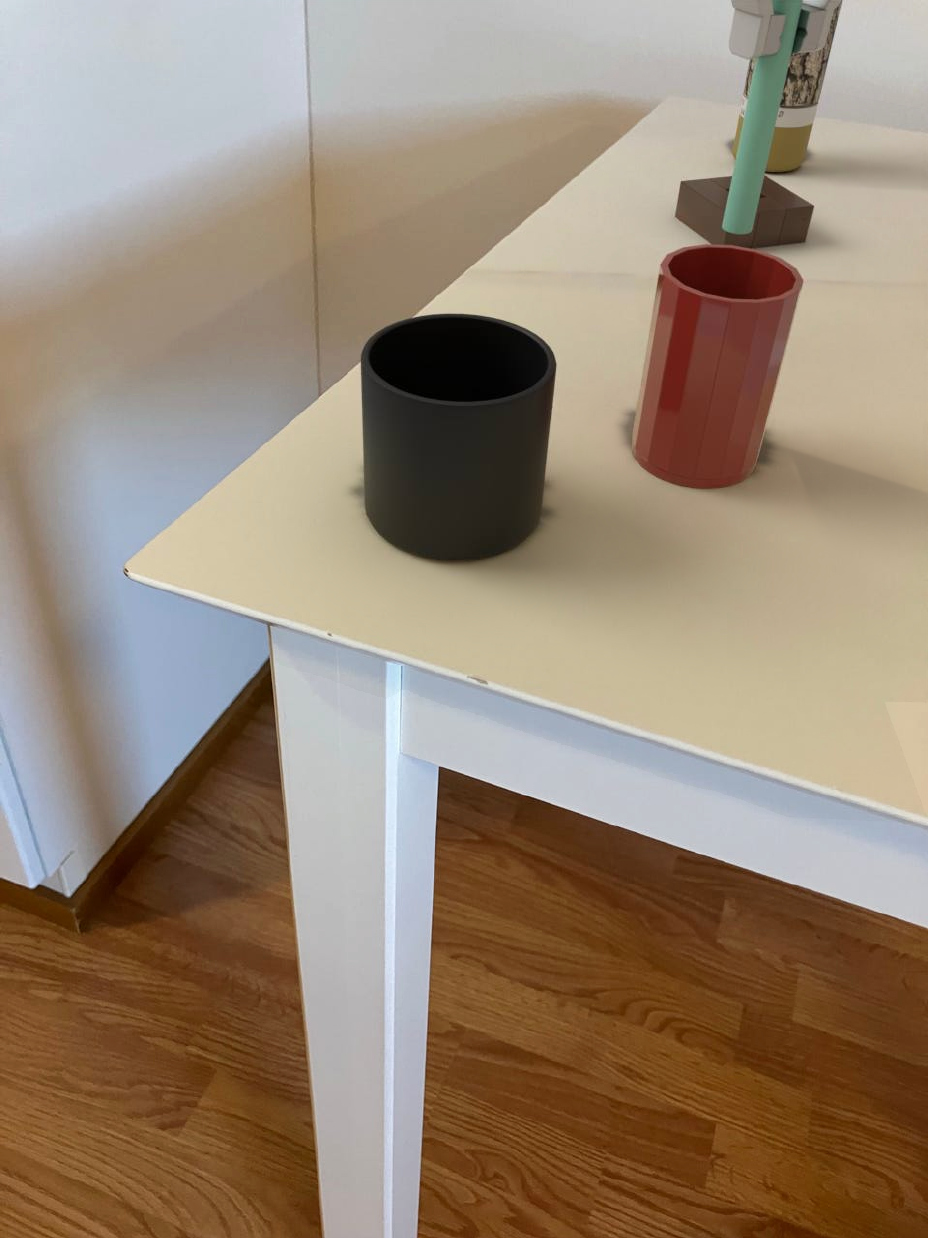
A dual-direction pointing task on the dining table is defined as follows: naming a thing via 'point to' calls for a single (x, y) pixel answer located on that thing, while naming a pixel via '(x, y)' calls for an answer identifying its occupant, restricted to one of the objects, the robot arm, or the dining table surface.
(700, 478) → the cup
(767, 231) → the holder
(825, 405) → the dining table surface
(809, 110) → the paper tube
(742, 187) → the straw
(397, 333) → the mug
